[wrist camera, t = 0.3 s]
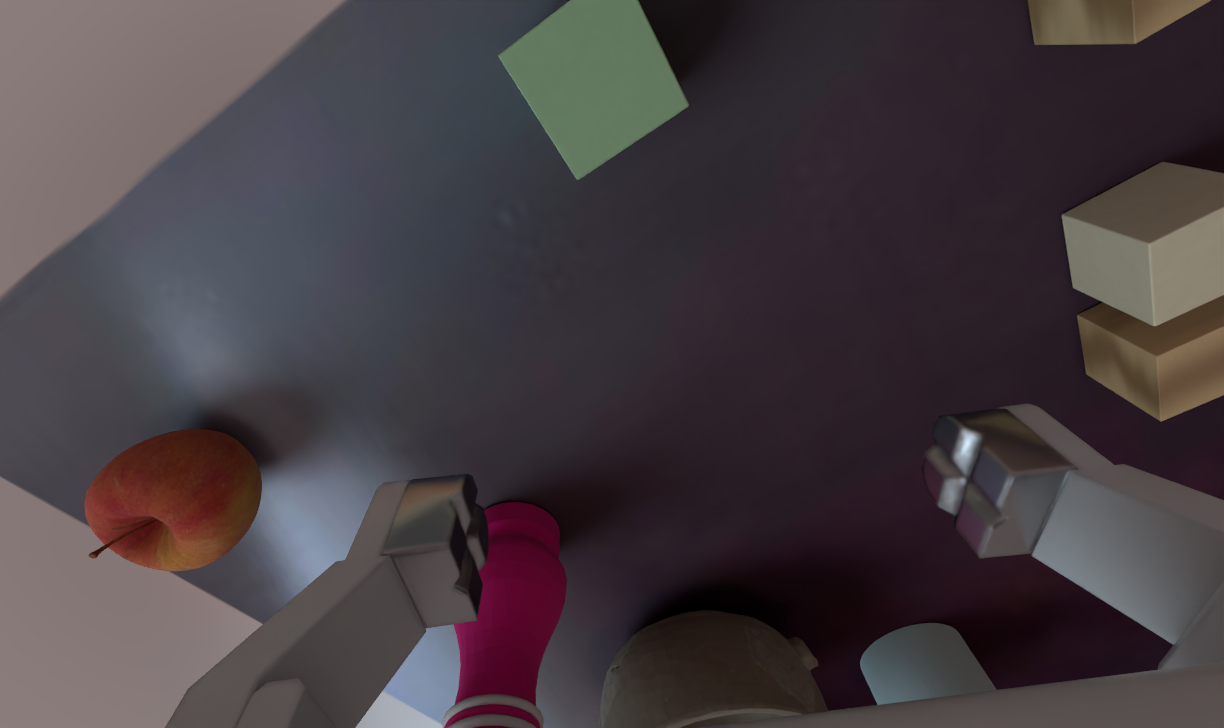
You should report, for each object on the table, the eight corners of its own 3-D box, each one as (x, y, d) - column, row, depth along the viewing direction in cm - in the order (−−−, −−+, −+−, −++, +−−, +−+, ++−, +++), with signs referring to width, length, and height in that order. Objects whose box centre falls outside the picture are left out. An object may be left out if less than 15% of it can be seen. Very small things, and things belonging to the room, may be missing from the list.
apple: (295, 499, 35) (227, 610, 28) (172, 492, 34) (70, 605, 27) (276, 407, 31) (192, 509, 24) (137, 396, 30) (9, 499, 23)
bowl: (804, 566, 41) (865, 701, 33) (783, 689, 51) (826, 820, 42) (584, 589, 41) (588, 731, 33) (602, 709, 50) (609, 844, 42)
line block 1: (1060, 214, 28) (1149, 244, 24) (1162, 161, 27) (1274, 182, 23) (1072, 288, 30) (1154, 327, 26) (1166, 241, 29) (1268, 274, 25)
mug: (841, 658, 48) (899, 789, 40) (931, 609, 45) (1015, 739, 37) (913, 706, 54) (978, 830, 45) (999, 665, 51) (1085, 790, 42)
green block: (511, 54, 23) (497, 55, 18) (610, -21, 22) (619, -38, 17) (576, 158, 25) (577, 181, 21) (668, 95, 24) (690, 105, 20)
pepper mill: (499, 578, 40) (444, 979, 23) (442, 519, 36) (326, 939, 19) (584, 545, 39) (595, 942, 21) (534, 480, 35) (499, 893, 18)
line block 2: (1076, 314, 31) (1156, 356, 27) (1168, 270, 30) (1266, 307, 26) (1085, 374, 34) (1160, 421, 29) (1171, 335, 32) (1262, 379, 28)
